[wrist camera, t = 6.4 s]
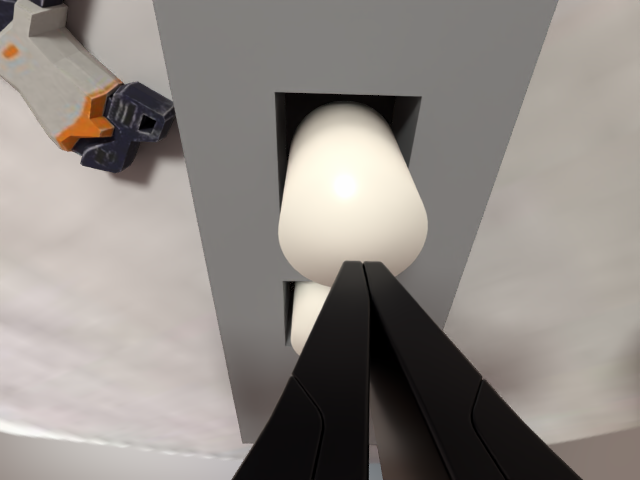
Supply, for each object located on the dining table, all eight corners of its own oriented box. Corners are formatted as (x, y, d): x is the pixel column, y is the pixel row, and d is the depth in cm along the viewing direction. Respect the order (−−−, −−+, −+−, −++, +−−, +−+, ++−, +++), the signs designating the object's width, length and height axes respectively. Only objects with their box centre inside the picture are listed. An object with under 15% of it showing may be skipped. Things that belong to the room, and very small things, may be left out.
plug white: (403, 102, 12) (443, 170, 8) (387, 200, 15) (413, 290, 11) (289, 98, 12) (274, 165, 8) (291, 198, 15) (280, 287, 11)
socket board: (501, -12, 13) (559, -4, 10) (393, 391, 29) (402, 445, 26) (190, -24, 13) (148, -18, 10) (251, 389, 29) (242, 443, 25)
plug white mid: (368, 240, 20) (380, 312, 16) (361, 291, 22) (370, 366, 18) (295, 238, 19) (289, 310, 16) (296, 290, 22) (291, 365, 18)
